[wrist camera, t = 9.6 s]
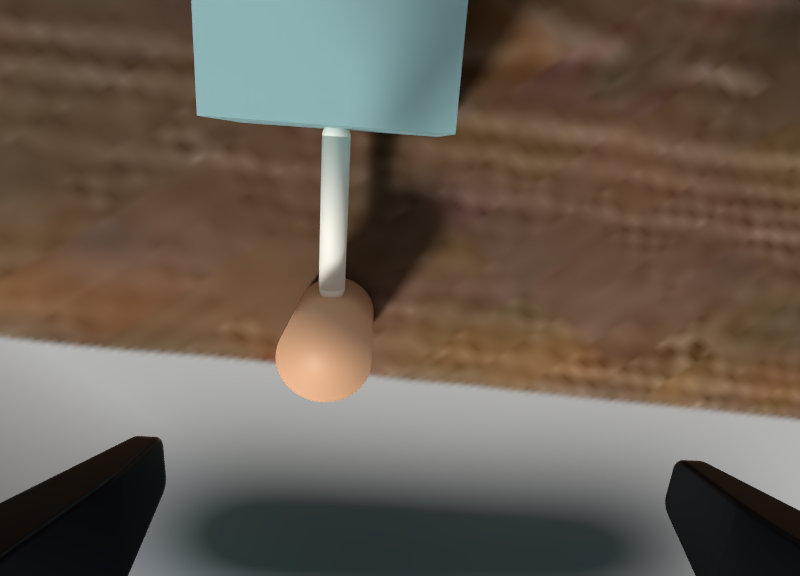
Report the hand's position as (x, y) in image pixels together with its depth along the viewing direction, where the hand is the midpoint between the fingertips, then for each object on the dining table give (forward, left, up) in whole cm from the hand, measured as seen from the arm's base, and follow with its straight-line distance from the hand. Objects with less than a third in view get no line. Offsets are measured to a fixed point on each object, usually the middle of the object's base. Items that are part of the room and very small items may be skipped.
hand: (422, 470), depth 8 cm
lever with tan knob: (+2, -4, -11) cm, 12 cm away
